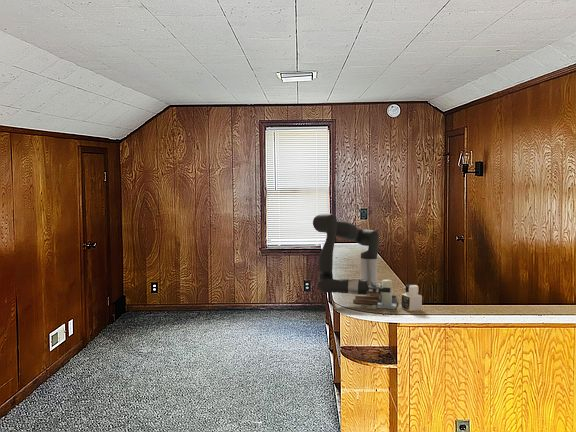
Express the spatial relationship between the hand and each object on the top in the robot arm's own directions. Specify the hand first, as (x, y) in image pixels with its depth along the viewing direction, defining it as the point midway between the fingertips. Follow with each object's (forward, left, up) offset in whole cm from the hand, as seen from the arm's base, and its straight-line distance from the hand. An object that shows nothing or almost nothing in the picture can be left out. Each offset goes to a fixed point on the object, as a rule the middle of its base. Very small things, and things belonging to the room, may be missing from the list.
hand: (391, 288), depth 293 cm
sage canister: (0, -2, -8) cm, 8 cm away
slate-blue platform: (0, -2, -9) cm, 9 cm away
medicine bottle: (+2, +10, -9) cm, 14 cm away
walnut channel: (-8, -13, -9) cm, 18 cm away
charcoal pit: (-8, -2, -9) cm, 13 cm away
